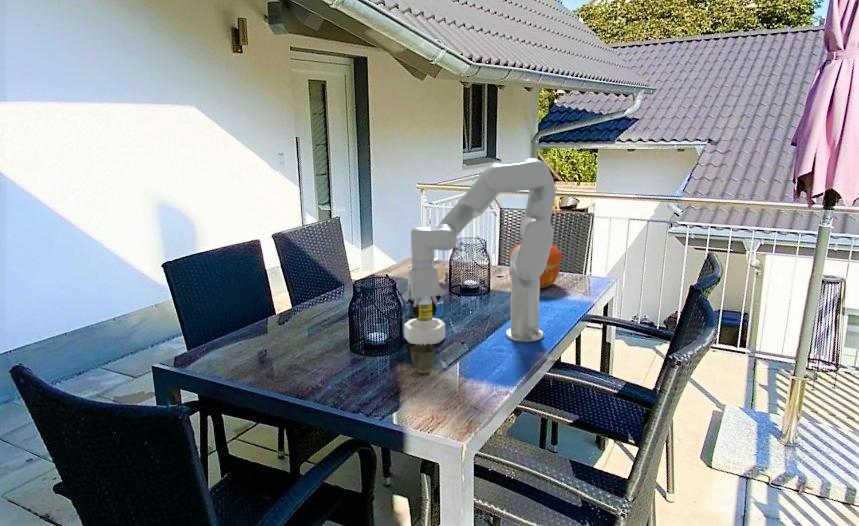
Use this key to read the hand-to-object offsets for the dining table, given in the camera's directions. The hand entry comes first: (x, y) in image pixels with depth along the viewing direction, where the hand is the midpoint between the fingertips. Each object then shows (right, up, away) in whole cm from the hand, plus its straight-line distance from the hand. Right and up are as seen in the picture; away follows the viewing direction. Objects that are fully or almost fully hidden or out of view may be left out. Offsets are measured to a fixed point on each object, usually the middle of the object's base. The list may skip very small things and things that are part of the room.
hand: (424, 315), depth 201 cm
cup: (0, -15, -26) cm, 30 cm away
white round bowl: (0, -8, +2) cm, 8 cm away
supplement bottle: (0, -2, 0) cm, 2 cm away
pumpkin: (+48, +8, +61) cm, 78 cm away
